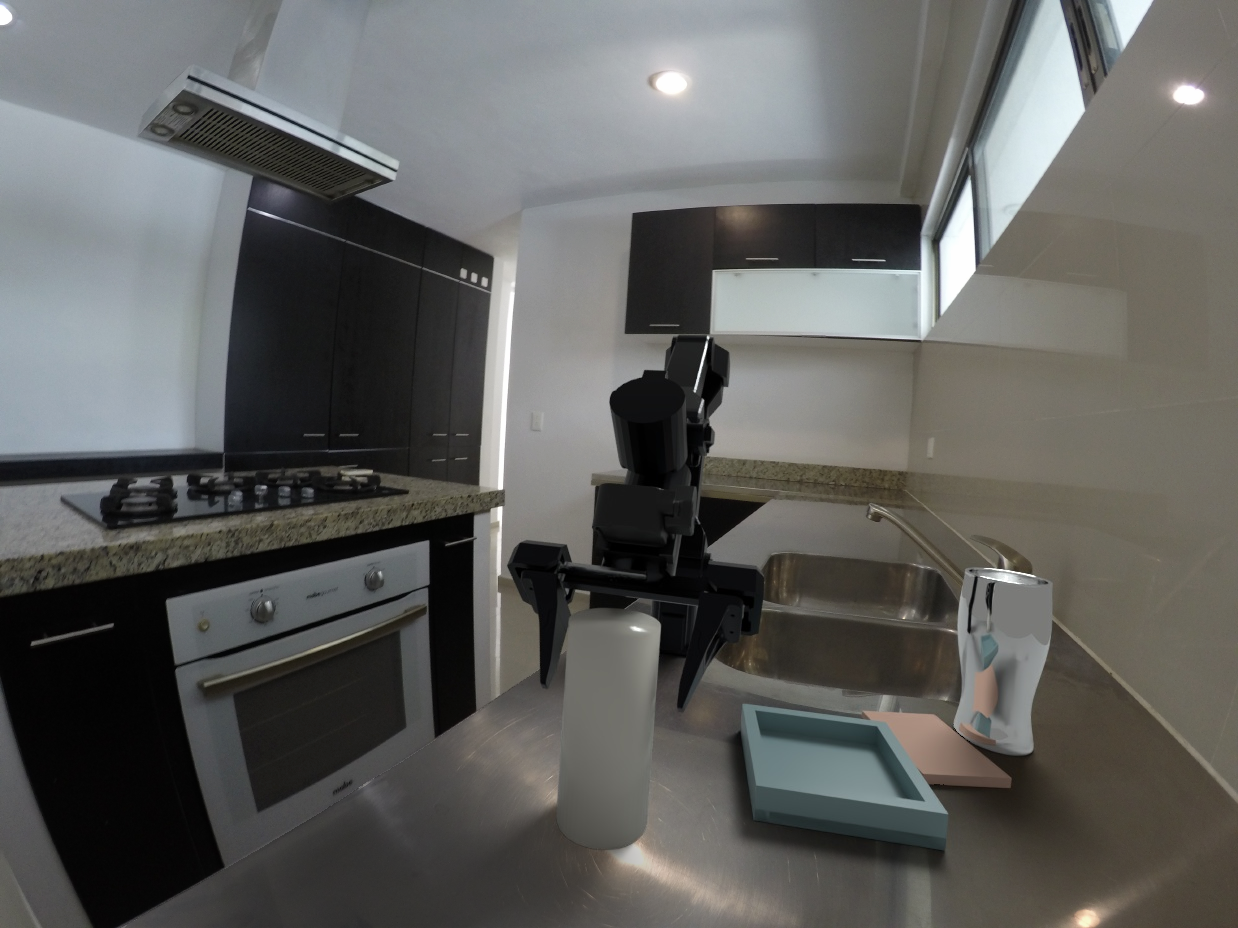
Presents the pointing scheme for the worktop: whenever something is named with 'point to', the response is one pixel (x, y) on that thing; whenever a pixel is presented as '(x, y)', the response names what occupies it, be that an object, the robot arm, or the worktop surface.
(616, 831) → the frosted white cylinder
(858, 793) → the tray
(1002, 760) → the worktop surface
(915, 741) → the plate
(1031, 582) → the beer glass
